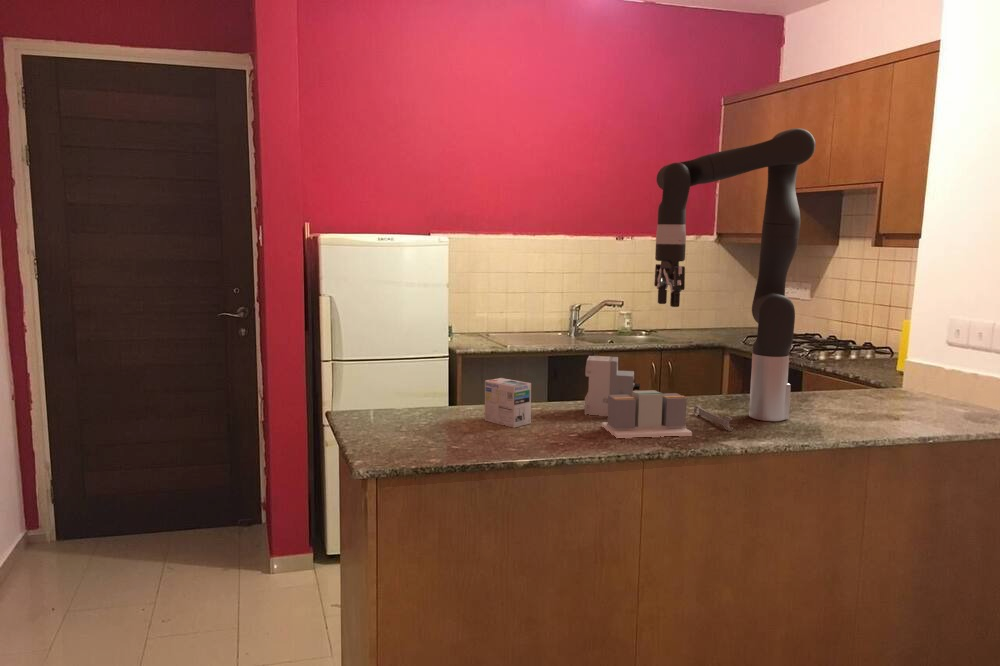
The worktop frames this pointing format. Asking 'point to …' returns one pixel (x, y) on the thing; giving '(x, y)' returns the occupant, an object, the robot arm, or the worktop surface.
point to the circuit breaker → (606, 383)
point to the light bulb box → (508, 402)
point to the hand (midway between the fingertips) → (668, 305)
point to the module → (648, 408)
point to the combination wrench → (714, 417)
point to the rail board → (624, 427)
